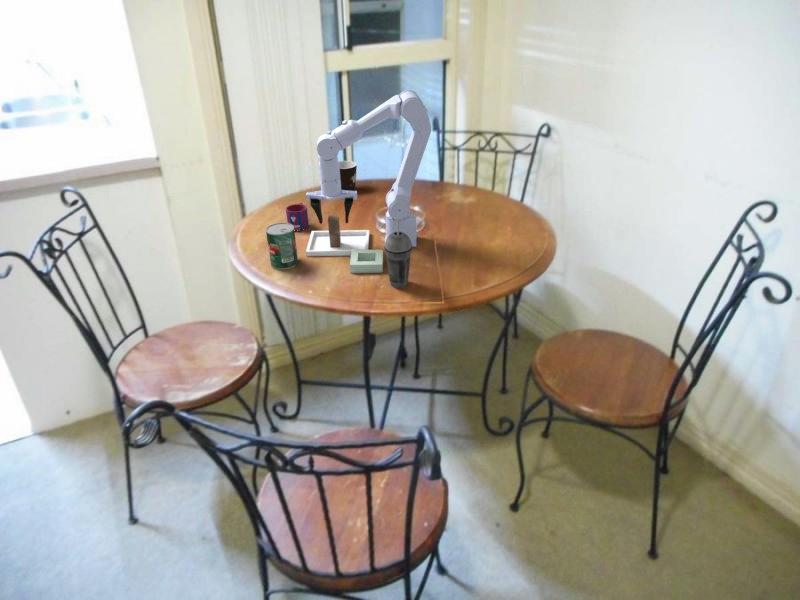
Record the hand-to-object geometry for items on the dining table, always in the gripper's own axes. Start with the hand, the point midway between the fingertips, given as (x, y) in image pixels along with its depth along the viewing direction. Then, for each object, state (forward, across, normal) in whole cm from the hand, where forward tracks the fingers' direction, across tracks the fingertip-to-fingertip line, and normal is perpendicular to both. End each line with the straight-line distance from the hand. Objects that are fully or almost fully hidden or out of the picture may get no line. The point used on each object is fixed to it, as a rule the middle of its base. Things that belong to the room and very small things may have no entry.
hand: (334, 222), depth 168 cm
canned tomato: (+8, -14, -10) cm, 19 cm away
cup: (+8, -13, +16) cm, 22 cm away
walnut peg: (+7, 0, 0) cm, 7 cm away
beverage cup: (+8, +19, -24) cm, 32 cm away
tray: (+8, +1, 0) cm, 8 cm away
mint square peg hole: (+8, +10, -13) cm, 18 cm away
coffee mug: (+8, -1, +45) cm, 46 cm away
